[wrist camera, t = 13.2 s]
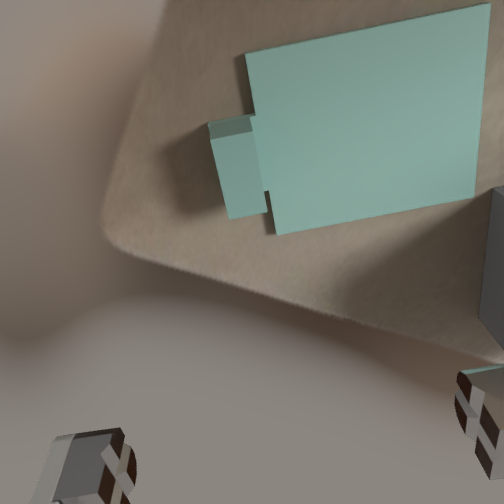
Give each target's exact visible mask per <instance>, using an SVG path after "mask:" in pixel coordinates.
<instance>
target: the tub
mask: <svg viewBox="0 0 504 504" xmlns="http://www.w3.org/2000/svg"><path fill="white" fill-rule="evenodd" d="M478 318H479V319H480V320H481V322H482V323H483V324H484V325H485V327H486V328H487V329H488V331H489V332H490V333H491V334H492V336H493V337H494V338H495V339H496V341H497V342H498V343H499V345H500V346H501V347H502V348H503V350H504V186H501V187H496V188H493V191H492V200H491V209H490V218H489V227H488V236H487V245H486V254H485V263H484V272H483V281H482V290H481V299H480V308H479V317H478Z"/></svg>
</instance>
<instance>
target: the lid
mask: <svg viewBox="0 0 504 504" xmlns="http://www.w3.org/2000/svg"><path fill="white" fill-rule="evenodd" d="M490 10H491V3H481V4H476V5H472V6H467V7H462V8H457V9H452V10H447V11H443V12H438V13H433V14H428V15H423V16H419V17H414V18H409V19H404V20H399V21H395V22H390V23H385V24H380V25H375V26H370V27H366V28H361V29H356V30H351V31H346V32H342V33H337V34H332V35H327V36H322V37H318V38H313V39H308V40H303V41H298V42H293V43H289V44H284V45H279V46H274V47H269V48H265V49H260V50H255V51H250V52H245V53H244V54H245V59H246V65H247V71H248V76H249V82H250V88H251V93H252V99H253V105H254V110H255V113H251V114H246V115H241V116H236V117H231V118H227V119H222V120H217V121H212V122H208V129H209V133H210V142H211V146H212V150H213V154H214V159H215V163H216V167H217V171H218V176H219V180H220V184H221V188H222V192H223V197H224V201H225V205H226V209H227V214H228V218H229V220H230V219H235V218H240V217H245V216H250V215H256V214H261V213H266V212H268V211H267V206H266V200H265V195H264V191H268V190H269V195H270V201H271V207H272V212H273V218H274V224H275V230H276V234H277V235H281V234H287V233H292V232H297V231H302V230H307V229H312V228H318V227H323V226H328V225H333V224H338V223H344V222H349V221H354V220H359V219H364V218H370V217H375V216H380V215H385V214H390V213H395V212H401V211H406V210H411V209H416V208H421V207H427V206H432V205H437V204H442V203H447V202H452V201H458V200H463V199H468V198H473V197H474V192H475V181H476V169H477V158H478V147H479V135H480V124H481V113H482V101H483V90H484V78H485V67H486V56H487V44H488V33H489V22H490Z"/></svg>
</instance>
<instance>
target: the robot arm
mask: <svg viewBox="0 0 504 504" xmlns="http://www.w3.org/2000/svg"><path fill="white" fill-rule="evenodd" d="M456 382H457V384H458V386H459V387H460V390H459V391H458V392H457V393H456V394H455V402H454V405H455V409H456V415H457V418H458V420H459V423H460V425H461V427H462V429H463V431H464V433H465V435H467V436H468V437H470V438H471V439H472V440H474V441H475V442H476V448H475V454H476V456H477V458H478V460H479V461H480V463H481V465H482V467H483V469H484V471H485V473H486V475H487V476H488V478H489V480H496V479H504V364H495V365H490V366H484V367H479V368H473V369H467V370H462V371H459V373H458V374H457V381H456ZM124 438H125V435H124V433H123V432H122V430H121V428H120V427H119V428H112V429H105V430H97V431H90V432H83V433H75V434H69V435H63V436H57V437H56V438H55V440H54V441H53V442H52V444H51V446H50V449H49V452H48V454H47V457H46V460H45V462H44V465H43V468H42V470H41V473H40V476H39V478H38V481H37V484H36V487H35V489H34V492H33V494H32V497H31V500H30V503H29V504H130V502H129V500H128V498H127V496H128V495H129V493H130V492H131V491H132V490H133V488H134V487H135V482H136V476H137V465H136V464H137V463H136V458H135V454H134V451H133V450H132V448H131V446H129V445H127V444H125V443H124Z"/></svg>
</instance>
